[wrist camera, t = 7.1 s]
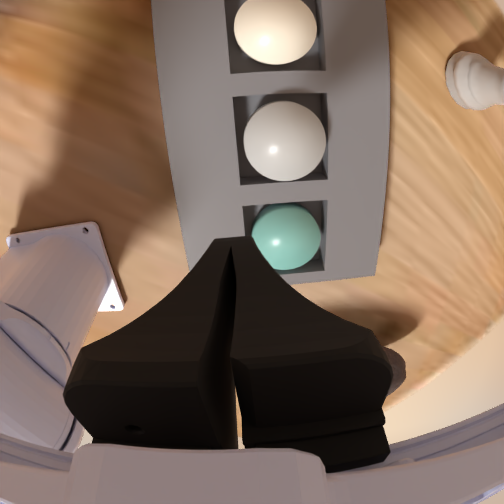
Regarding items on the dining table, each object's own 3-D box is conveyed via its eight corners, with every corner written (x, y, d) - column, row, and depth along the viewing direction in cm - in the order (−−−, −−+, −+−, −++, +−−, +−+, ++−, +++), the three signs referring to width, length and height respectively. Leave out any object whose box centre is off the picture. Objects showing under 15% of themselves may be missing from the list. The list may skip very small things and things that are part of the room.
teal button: (253, 263, 23) (254, 272, 22) (248, 204, 20) (249, 211, 19) (315, 257, 23) (319, 266, 22) (316, 199, 20) (321, 206, 19)
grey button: (246, 177, 19) (247, 184, 17) (240, 103, 16) (240, 104, 15) (320, 172, 19) (325, 178, 17) (319, 99, 16) (325, 101, 15)
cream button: (237, 67, 16) (237, 66, 15) (231, -2, 14) (231, -7, 13) (314, 64, 16) (319, 63, 15) (308, -3, 14) (313, -8, 13)
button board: (196, 276, 24) (194, 292, 22) (158, -6, 14) (150, -14, 12) (365, 260, 24) (374, 275, 22) (370, -11, 14) (382, -18, 12)
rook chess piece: (486, 60, 16) (564, 74, 9) (481, 114, 18) (557, 142, 11) (443, 43, 15) (523, 45, 9) (439, 101, 18) (517, 125, 11)
